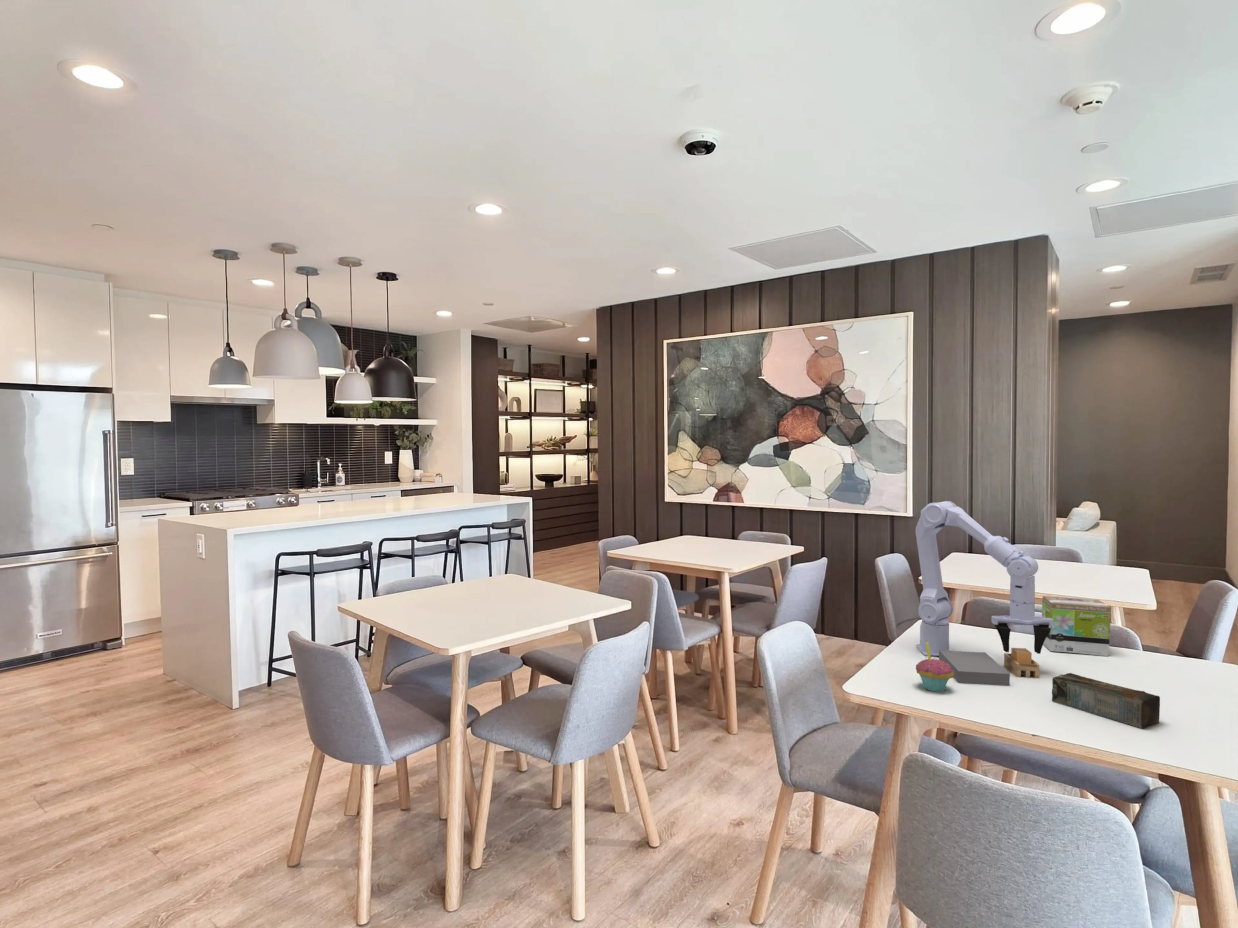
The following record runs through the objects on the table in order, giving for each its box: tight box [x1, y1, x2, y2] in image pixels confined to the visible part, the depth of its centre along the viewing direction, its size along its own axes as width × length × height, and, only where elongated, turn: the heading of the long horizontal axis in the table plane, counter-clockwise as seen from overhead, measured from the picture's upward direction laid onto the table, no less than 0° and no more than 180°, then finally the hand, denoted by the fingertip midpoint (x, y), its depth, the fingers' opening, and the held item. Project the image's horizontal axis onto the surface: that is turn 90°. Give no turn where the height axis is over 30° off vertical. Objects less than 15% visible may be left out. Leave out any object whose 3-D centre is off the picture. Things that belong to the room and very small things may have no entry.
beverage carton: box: [1051, 672, 1161, 729], centre depth 157 cm, size 8×19×7 cm, turn 30°
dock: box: [938, 650, 1011, 687], centre depth 183 cm, size 18×12×3 cm, turn 169°
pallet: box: [1003, 652, 1040, 679], centre depth 184 cm, size 9×5×4 cm, turn 170°
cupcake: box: [915, 639, 954, 692], centre depth 172 cm, size 9×8×12 cm
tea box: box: [1041, 595, 1112, 657], centre depth 203 cm, size 15×10×15 cm, turn 73°
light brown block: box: [1010, 647, 1033, 664], centre depth 184 cm, size 4×4×3 cm
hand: (1021, 651), depth 184 cm, fingers open, 7 cm apart
